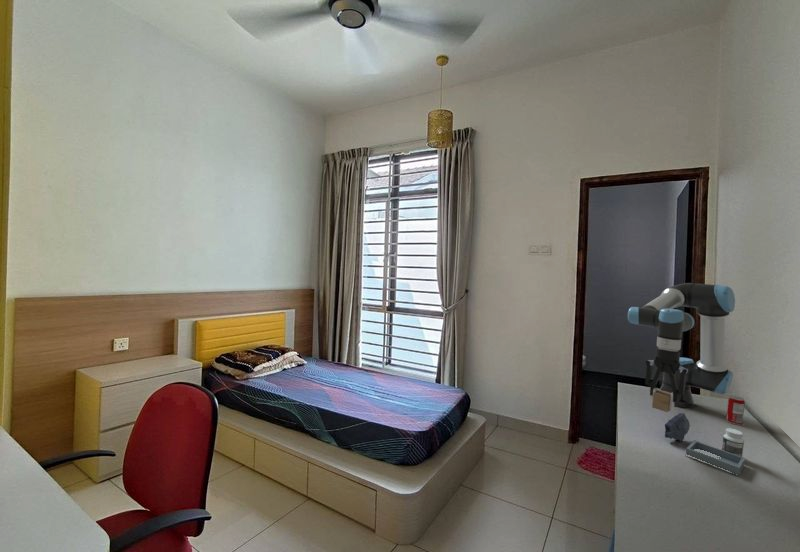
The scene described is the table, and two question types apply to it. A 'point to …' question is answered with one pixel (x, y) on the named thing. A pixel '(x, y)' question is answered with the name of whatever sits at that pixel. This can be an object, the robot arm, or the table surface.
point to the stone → (677, 427)
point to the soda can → (735, 410)
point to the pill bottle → (733, 442)
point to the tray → (726, 461)
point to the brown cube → (661, 400)
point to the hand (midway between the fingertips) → (662, 406)
